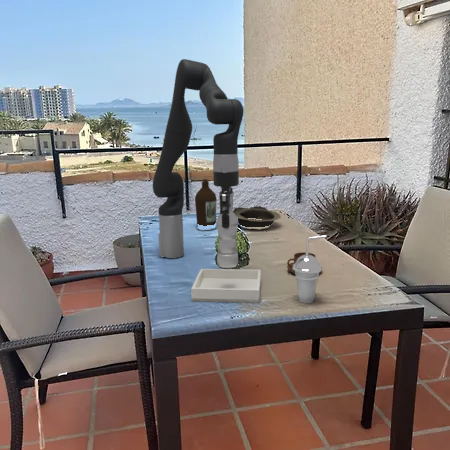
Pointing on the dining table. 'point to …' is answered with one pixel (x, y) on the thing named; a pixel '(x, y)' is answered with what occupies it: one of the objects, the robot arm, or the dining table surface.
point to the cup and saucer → (296, 260)
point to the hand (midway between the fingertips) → (226, 224)
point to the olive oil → (205, 205)
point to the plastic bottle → (227, 241)
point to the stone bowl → (255, 216)
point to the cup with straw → (307, 274)
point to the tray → (227, 286)
